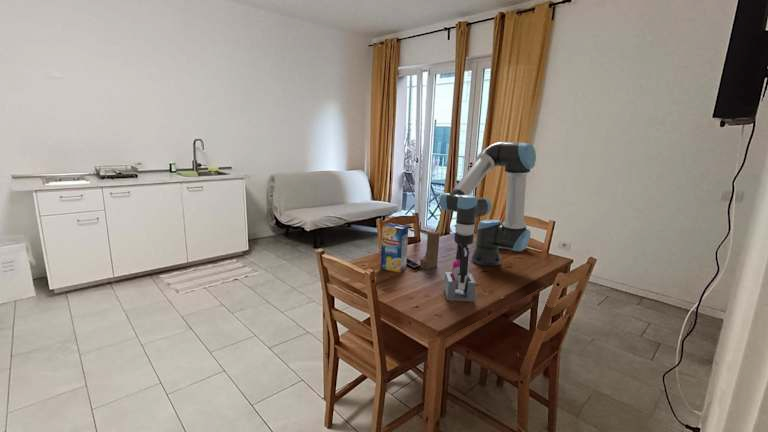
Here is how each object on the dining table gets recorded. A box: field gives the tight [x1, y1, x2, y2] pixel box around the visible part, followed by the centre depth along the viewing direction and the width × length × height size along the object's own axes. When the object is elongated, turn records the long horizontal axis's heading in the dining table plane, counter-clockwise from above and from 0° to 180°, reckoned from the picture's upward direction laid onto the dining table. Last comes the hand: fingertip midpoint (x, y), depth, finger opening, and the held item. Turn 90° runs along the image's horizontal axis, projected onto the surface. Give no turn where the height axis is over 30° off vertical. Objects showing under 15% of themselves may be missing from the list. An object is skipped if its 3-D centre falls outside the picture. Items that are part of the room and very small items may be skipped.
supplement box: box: [451, 258, 470, 291], centre depth 154 cm, size 6×6×12 cm
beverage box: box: [380, 222, 409, 273], centre depth 182 cm, size 7×11×22 cm, turn 62°
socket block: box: [443, 271, 477, 302], centre depth 155 cm, size 11×11×8 cm
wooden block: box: [419, 230, 441, 271], centre depth 187 cm, size 9×4×18 cm, turn 135°
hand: (459, 285), depth 155 cm, fingers closed on supplement box, 7 cm apart
